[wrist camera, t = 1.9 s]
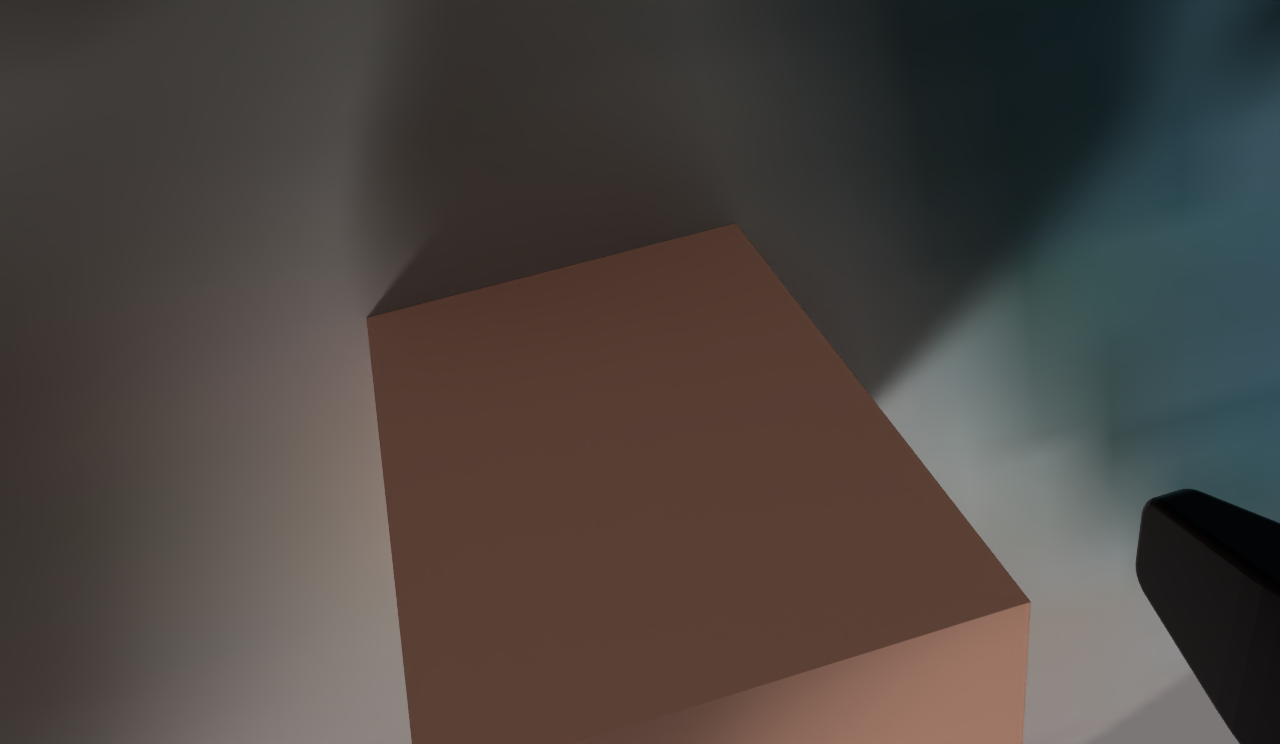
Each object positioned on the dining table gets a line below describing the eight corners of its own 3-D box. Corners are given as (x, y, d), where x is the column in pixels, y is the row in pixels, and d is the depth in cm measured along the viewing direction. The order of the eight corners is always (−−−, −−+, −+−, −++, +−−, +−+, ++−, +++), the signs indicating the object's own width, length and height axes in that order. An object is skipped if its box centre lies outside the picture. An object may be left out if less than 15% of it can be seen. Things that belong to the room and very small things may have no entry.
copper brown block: (768, 504, 14) (1011, 940, 10) (458, 594, 14) (547, 1105, 9) (735, 222, 12) (1029, 601, 7) (366, 317, 12) (416, 793, 7)
